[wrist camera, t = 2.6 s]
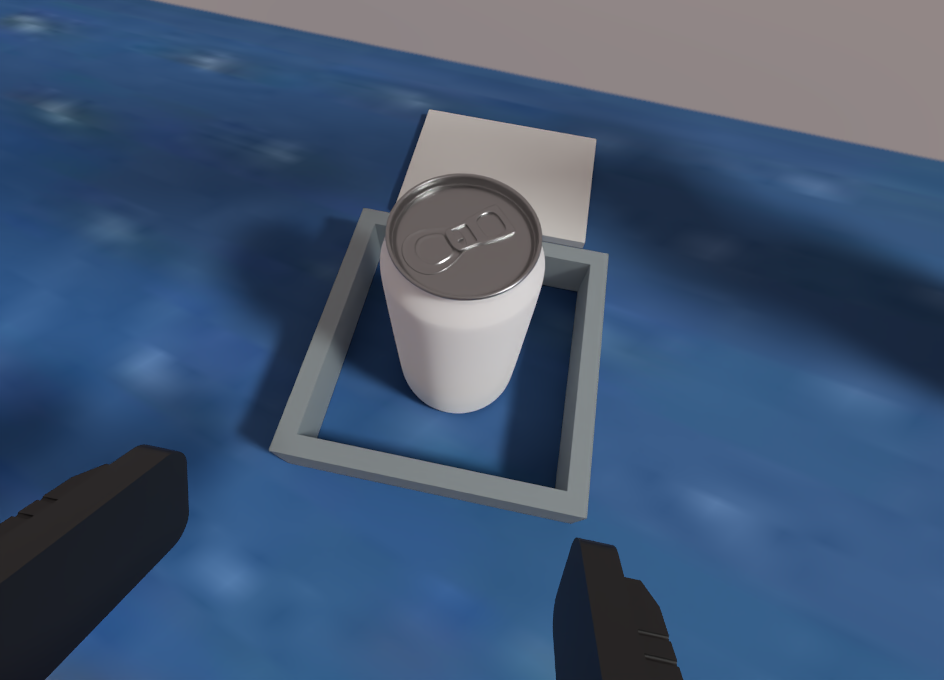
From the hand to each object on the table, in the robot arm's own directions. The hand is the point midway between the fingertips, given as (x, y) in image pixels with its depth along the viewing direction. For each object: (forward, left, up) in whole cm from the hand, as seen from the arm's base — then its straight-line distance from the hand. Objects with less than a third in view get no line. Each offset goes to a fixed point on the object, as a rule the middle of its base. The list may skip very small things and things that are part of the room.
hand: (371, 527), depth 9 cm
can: (0, -10, -15) cm, 18 cm away
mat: (0, -25, -15) cm, 29 cm away
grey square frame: (0, -10, -15) cm, 18 cm away
